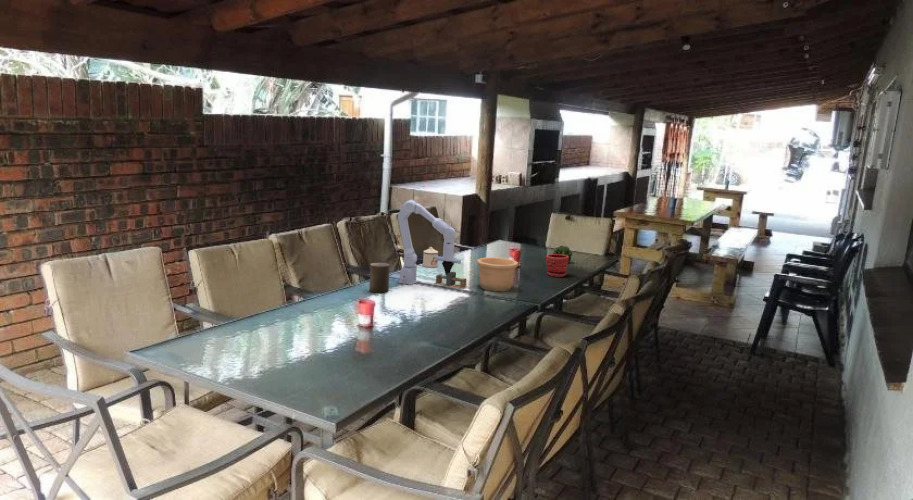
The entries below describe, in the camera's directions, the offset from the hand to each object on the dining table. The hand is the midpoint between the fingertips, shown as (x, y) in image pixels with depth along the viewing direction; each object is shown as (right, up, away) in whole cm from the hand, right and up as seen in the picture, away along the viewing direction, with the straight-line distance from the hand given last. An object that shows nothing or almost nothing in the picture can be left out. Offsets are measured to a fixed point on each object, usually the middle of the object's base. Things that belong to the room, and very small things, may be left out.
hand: (447, 275), depth 350 cm
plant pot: (+64, -2, +40) cm, 75 cm away
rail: (+2, -5, 0) cm, 6 cm away
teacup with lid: (-10, +4, +47) cm, 48 cm away
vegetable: (+74, +5, +77) cm, 107 cm away
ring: (+2, -5, 0) cm, 6 cm away
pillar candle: (-34, -7, -20) cm, 40 cm away
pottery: (+26, -7, +1) cm, 27 cm away
